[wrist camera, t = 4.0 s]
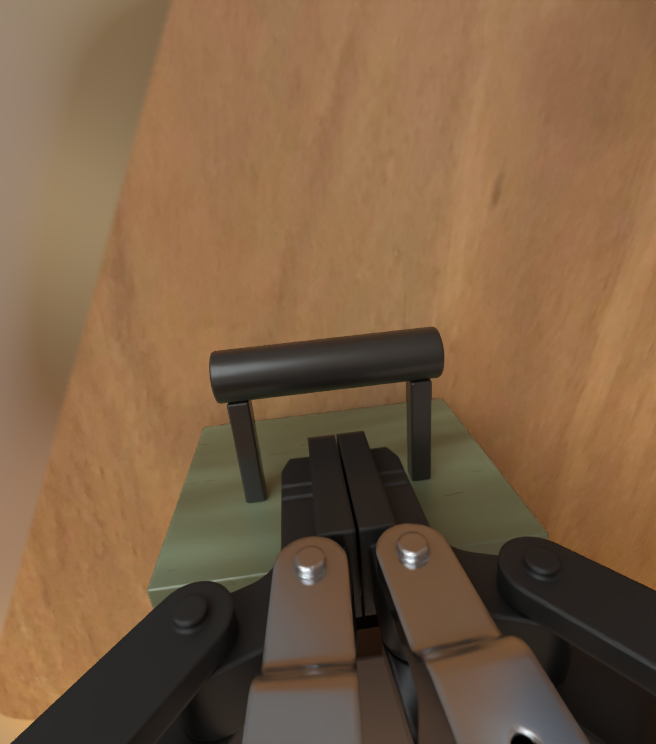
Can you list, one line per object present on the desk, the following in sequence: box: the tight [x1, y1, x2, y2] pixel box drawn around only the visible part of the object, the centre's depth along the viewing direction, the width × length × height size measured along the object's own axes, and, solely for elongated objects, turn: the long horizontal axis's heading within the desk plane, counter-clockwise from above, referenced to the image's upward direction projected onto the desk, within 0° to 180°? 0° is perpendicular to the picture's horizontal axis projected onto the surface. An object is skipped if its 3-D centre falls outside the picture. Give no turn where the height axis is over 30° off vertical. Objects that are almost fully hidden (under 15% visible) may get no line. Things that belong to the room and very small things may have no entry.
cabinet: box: [356, 627, 409, 744], centre depth 17 cm, size 14×11×10 cm
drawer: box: [147, 327, 549, 630], centre depth 15 cm, size 17×10×8 cm, turn 5°
